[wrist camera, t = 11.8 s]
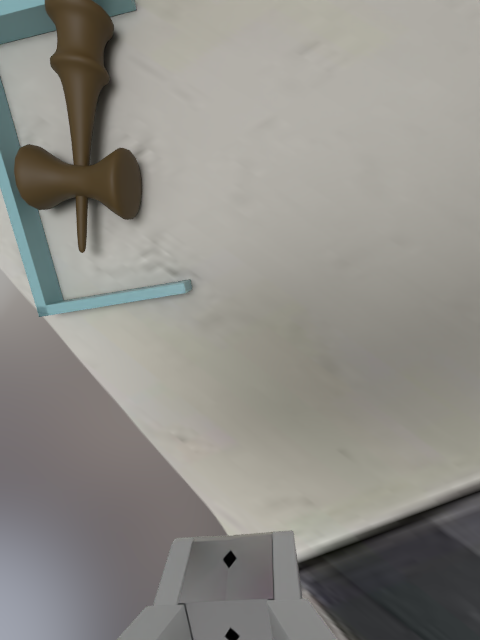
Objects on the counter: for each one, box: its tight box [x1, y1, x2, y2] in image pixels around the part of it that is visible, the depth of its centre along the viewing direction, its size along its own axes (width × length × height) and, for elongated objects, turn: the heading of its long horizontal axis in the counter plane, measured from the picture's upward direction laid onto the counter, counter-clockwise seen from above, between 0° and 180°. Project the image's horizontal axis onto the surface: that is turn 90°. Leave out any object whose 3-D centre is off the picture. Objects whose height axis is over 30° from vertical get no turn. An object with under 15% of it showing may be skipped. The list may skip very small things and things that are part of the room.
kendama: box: [14, 0, 142, 253], centre depth 30 cm, size 6×10×20 cm
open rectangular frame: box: [0, 0, 192, 317], centre depth 31 cm, size 15×26×3 cm, turn 10°
